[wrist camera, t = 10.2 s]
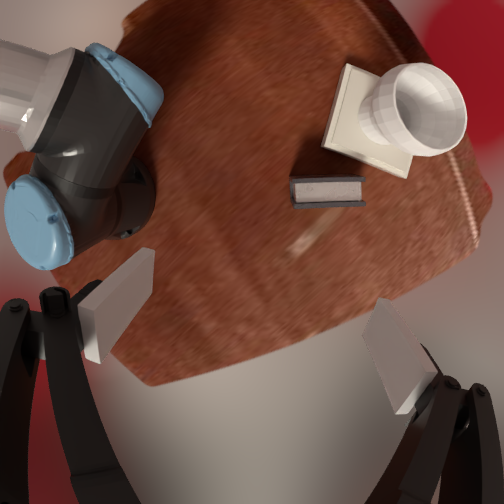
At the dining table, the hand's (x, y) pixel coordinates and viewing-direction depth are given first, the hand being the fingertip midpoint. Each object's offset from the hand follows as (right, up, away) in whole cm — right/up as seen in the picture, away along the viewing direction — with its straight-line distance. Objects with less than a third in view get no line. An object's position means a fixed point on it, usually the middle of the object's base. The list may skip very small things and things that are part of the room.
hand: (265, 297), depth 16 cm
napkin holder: (+10, +13, +27) cm, 32 cm away
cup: (+18, +22, +20) cm, 35 cm away
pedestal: (+18, +23, +23) cm, 37 cm away
